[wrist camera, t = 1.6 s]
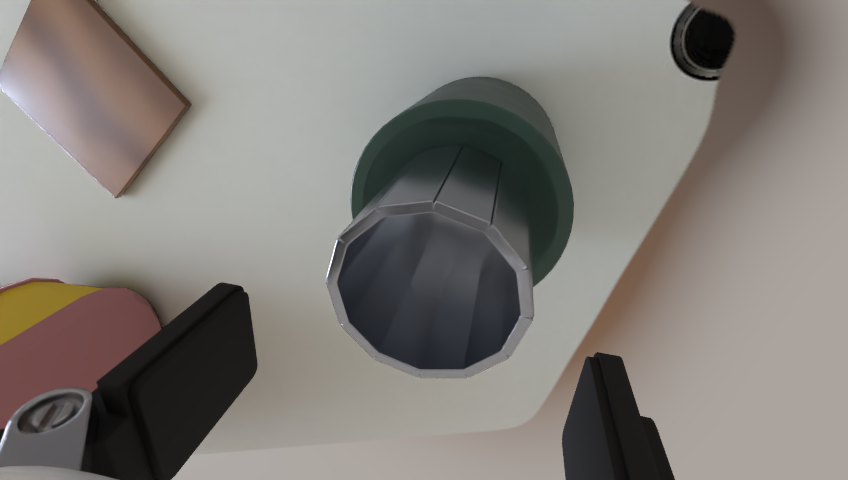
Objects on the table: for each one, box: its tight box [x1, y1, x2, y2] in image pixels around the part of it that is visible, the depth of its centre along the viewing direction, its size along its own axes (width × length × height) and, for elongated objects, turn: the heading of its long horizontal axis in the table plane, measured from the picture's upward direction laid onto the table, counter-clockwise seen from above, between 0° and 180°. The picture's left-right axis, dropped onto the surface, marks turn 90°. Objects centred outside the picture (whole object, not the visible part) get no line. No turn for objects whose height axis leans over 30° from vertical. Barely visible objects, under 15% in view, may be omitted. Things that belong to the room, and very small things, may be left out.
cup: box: [326, 145, 534, 378], centre depth 17 cm, size 7×7×7 cm
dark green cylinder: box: [351, 77, 574, 287], centre depth 24 cm, size 10×10×10 cm
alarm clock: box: [0, 278, 161, 429], centre depth 36 cm, size 18×11×19 cm, turn 1°
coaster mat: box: [0, 0, 191, 198], centre depth 32 cm, size 12×12×1 cm
